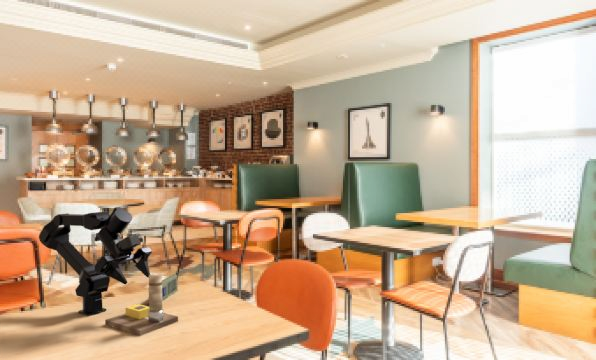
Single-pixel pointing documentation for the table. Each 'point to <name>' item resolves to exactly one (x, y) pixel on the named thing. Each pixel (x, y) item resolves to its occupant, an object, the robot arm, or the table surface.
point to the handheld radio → (168, 287)
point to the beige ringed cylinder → (155, 298)
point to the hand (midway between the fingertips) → (138, 280)
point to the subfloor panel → (139, 323)
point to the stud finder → (137, 311)
